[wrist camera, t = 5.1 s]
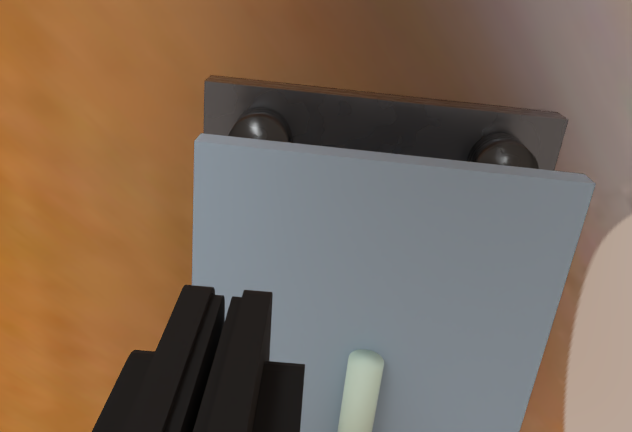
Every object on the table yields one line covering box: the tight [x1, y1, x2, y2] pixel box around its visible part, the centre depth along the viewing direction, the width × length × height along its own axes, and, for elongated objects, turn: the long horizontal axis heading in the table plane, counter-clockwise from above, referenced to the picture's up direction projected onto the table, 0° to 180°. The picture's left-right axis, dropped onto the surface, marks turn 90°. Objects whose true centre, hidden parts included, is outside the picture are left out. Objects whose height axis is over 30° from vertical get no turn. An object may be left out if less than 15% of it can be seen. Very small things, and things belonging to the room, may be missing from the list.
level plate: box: [192, 133, 596, 432], centre depth 27 cm, size 19×16×3 cm
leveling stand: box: [204, 75, 568, 171], centre depth 31 cm, size 21×18×6 cm
